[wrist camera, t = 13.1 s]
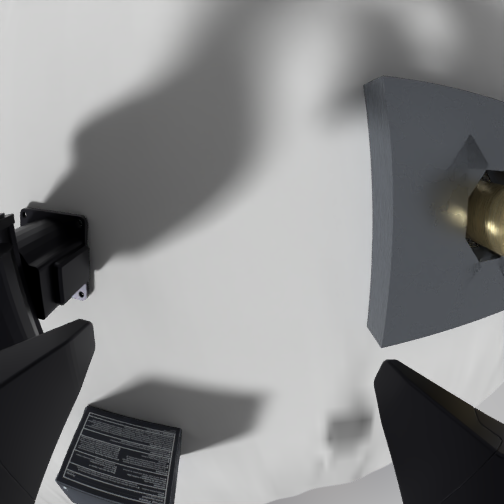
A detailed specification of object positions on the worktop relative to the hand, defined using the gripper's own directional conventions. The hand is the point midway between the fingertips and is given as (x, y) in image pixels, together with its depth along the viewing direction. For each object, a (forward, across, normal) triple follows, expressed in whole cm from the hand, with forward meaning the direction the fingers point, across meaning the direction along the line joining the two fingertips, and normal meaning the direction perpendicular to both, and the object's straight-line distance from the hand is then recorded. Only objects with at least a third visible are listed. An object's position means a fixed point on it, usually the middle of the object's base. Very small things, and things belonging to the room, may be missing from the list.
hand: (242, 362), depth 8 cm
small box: (+12, +8, +23) cm, 27 cm away
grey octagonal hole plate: (+12, -18, -6) cm, 23 cm away
